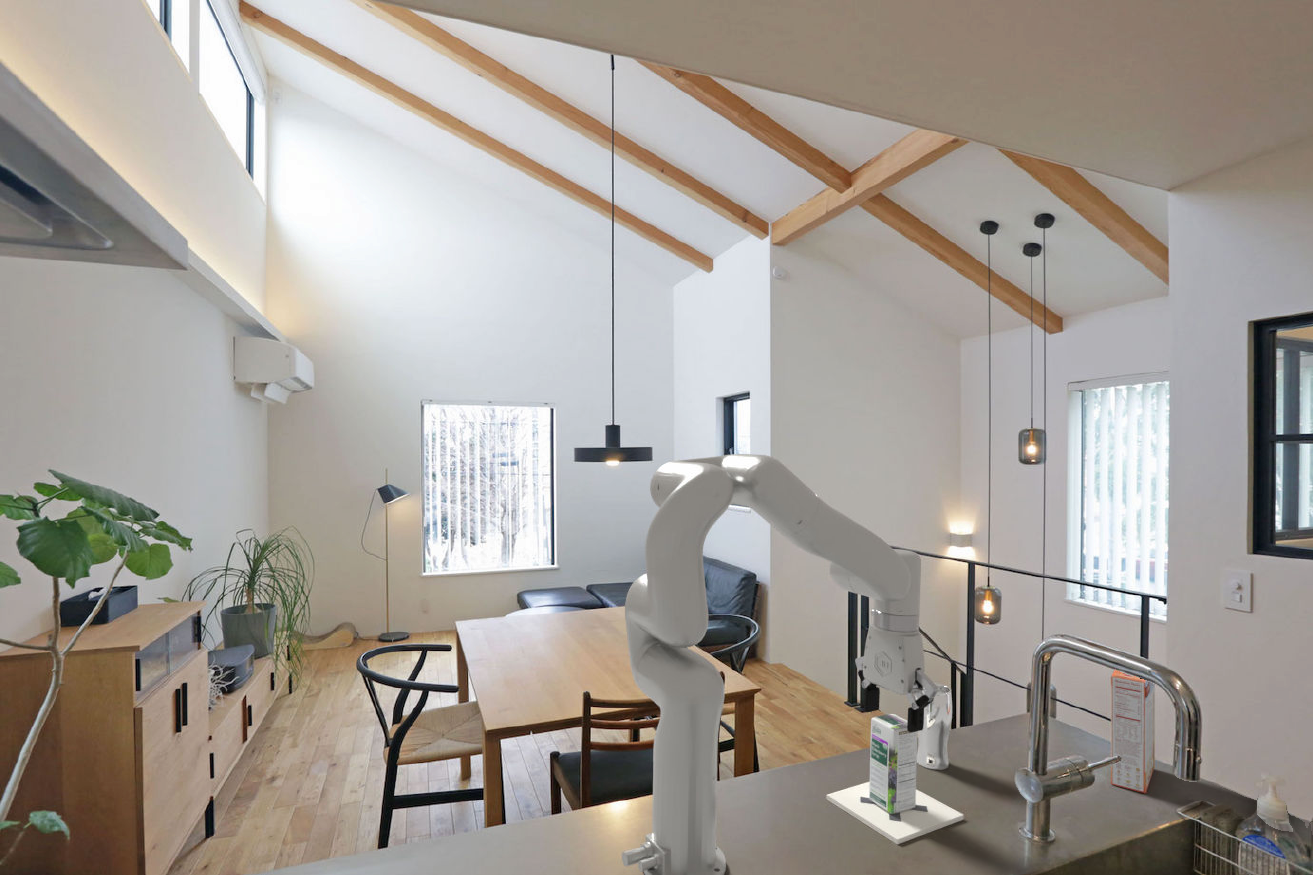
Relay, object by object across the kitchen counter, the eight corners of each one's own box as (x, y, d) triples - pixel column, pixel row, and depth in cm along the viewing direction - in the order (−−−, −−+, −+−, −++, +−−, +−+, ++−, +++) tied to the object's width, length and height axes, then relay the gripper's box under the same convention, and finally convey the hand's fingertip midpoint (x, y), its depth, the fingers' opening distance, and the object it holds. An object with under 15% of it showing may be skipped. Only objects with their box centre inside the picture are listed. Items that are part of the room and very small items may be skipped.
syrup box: (867, 799, 125) (869, 717, 125) (892, 792, 128) (894, 711, 128) (891, 815, 120) (893, 729, 120) (917, 808, 123) (918, 723, 123)
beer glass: (954, 772, 138) (955, 695, 138) (916, 768, 139) (917, 692, 139) (947, 757, 145) (948, 683, 145) (911, 753, 146) (912, 680, 146)
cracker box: (1119, 759, 145) (1121, 657, 145) (1155, 769, 141) (1157, 663, 141) (1107, 784, 134) (1109, 673, 134) (1146, 795, 130) (1148, 680, 130)
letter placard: (897, 844, 113) (897, 838, 113) (826, 799, 127) (826, 794, 127) (963, 819, 121) (963, 814, 121) (890, 779, 135) (890, 774, 135)
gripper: (844, 612, 130) (840, 706, 129) (922, 636, 114) (918, 743, 114) (873, 608, 133) (870, 700, 133) (953, 631, 118) (949, 735, 118)
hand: (892, 720), depth 124 cm, fingers open, 9 cm apart
